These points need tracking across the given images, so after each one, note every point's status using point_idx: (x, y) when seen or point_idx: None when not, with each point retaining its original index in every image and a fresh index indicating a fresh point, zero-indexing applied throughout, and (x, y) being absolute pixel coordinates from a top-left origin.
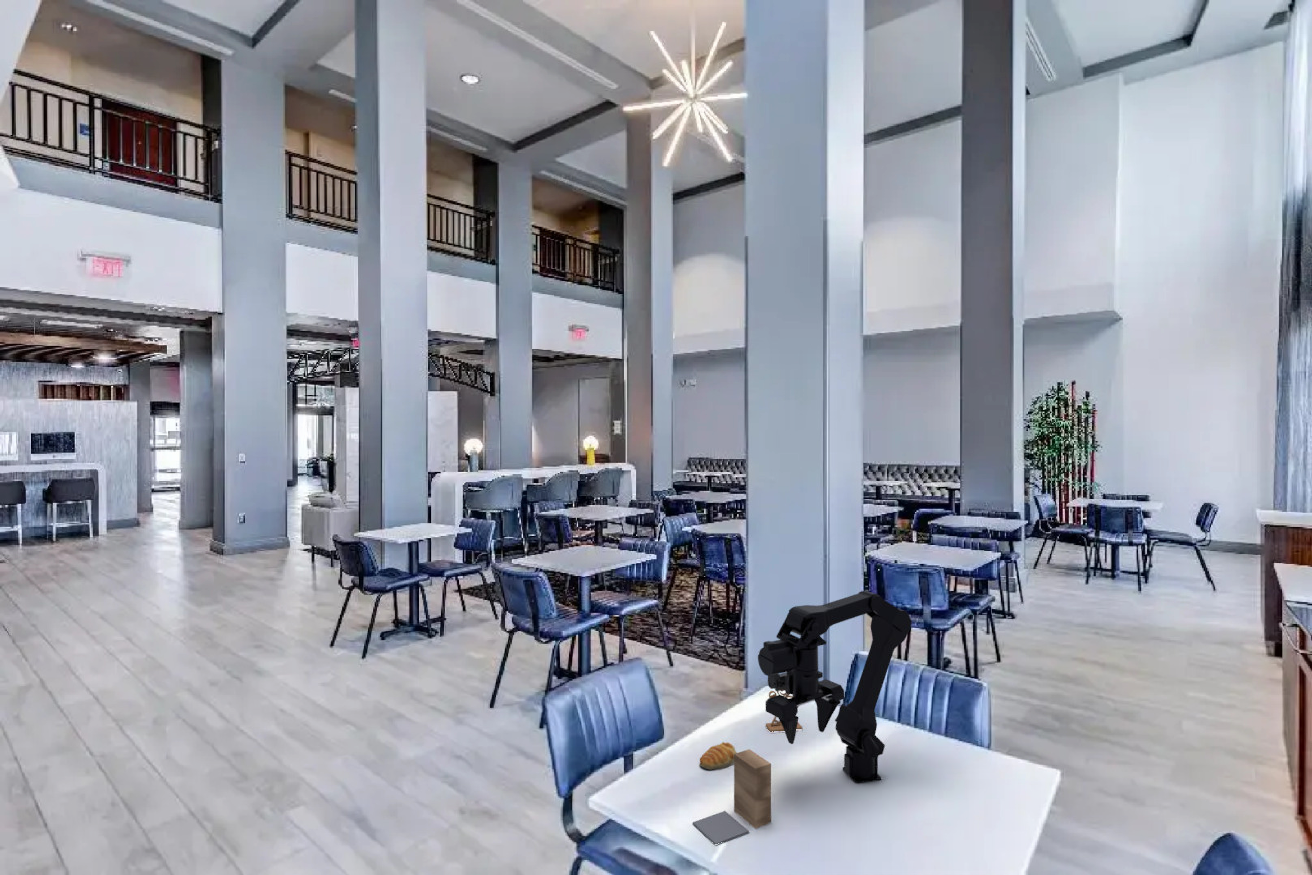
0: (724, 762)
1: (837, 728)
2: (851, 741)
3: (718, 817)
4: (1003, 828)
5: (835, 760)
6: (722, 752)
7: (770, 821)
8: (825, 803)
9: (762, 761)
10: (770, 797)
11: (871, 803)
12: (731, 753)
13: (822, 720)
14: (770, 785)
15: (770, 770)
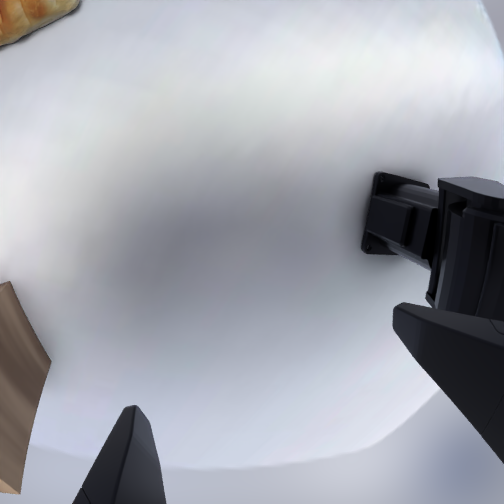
0: (8, 38)
1: (469, 227)
2: (442, 298)
3: None
4: (422, 393)
5: (386, 118)
6: (5, 9)
7: (49, 363)
8: (228, 320)
9: None
10: (35, 408)
11: (332, 334)
12: (37, 7)
13: (442, 367)
14: (28, 436)
15: (21, 474)
